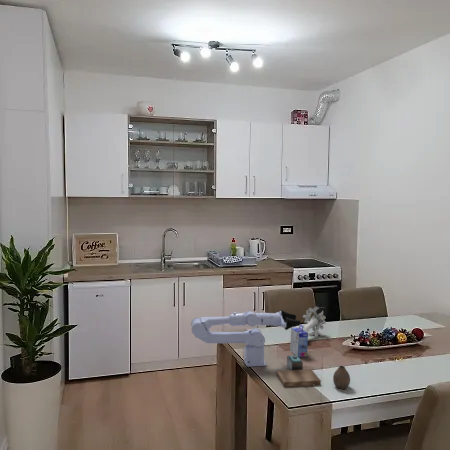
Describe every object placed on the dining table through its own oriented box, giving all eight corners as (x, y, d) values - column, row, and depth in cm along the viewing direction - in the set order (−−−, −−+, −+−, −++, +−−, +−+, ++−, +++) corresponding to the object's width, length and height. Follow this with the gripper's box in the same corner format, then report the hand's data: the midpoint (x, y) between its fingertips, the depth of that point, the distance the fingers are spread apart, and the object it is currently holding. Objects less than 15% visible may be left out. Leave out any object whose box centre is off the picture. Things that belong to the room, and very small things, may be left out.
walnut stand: (283, 387, 186) (284, 382, 186) (276, 375, 198) (276, 371, 198) (320, 385, 189) (320, 380, 189) (311, 373, 201) (311, 369, 200)
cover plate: (293, 364, 202) (293, 359, 202) (289, 358, 208) (289, 354, 208) (300, 363, 202) (300, 359, 202) (296, 358, 209) (296, 354, 209)
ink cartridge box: (308, 356, 222) (308, 328, 221) (297, 357, 220) (298, 329, 219) (299, 350, 231) (300, 322, 230) (289, 350, 230) (290, 323, 229)
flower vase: (305, 356, 241) (328, 334, 258) (307, 327, 234) (330, 307, 251) (285, 346, 249) (308, 326, 266) (286, 318, 242) (310, 299, 259)
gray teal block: (291, 373, 201) (292, 362, 201) (286, 366, 209) (287, 356, 209) (302, 372, 202) (302, 362, 202) (297, 366, 210) (297, 355, 210)
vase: (347, 383, 190) (347, 363, 190) (352, 390, 184) (352, 370, 183) (331, 383, 190) (331, 363, 190) (335, 390, 183) (336, 370, 183)
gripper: (273, 316, 204) (302, 317, 205) (267, 305, 218) (294, 306, 219) (272, 331, 205) (301, 332, 206) (266, 319, 219) (293, 320, 220)
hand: (297, 320), depth 213 cm, fingers open, 7 cm apart
